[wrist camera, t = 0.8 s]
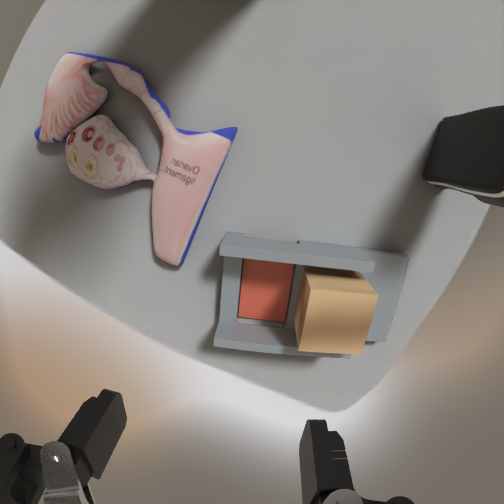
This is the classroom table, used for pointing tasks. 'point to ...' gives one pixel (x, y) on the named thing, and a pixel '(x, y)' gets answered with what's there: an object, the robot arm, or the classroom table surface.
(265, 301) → the channel
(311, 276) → the oak block
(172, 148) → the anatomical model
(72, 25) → the classroom table surface
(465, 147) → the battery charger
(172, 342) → the classroom table surface
